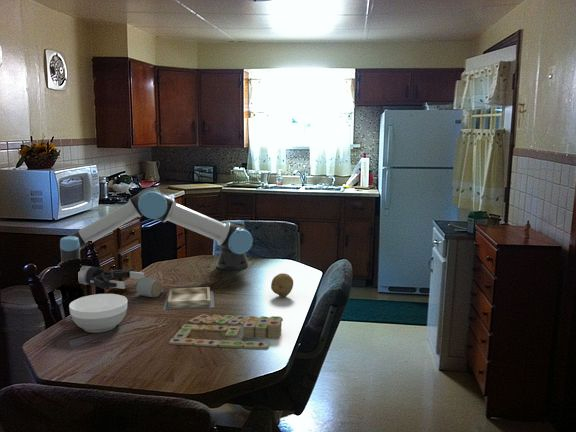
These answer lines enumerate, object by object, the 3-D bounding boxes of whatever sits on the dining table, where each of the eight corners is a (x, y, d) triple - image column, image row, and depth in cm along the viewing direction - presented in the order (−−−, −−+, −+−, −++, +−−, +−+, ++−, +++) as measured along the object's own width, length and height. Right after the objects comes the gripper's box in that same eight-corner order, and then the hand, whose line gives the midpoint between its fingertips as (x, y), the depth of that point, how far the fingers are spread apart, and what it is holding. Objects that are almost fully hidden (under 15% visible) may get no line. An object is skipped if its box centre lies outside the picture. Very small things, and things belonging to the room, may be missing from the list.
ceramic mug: (152, 300, 208) (152, 281, 207) (136, 297, 211) (135, 279, 210) (168, 293, 218) (168, 275, 216) (152, 290, 221) (152, 272, 220)
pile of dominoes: (285, 320, 190) (285, 305, 189) (276, 351, 163) (276, 334, 163) (191, 315, 193) (191, 301, 192) (168, 346, 167) (167, 329, 166)
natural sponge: (280, 302, 207) (280, 278, 205) (266, 296, 214) (266, 273, 212) (297, 297, 213) (297, 274, 211) (283, 292, 219) (283, 269, 218)
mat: (213, 291, 219) (213, 291, 219) (214, 308, 200) (214, 307, 200) (166, 293, 216) (166, 292, 216) (163, 310, 197) (163, 309, 197)
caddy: (209, 292, 217) (209, 287, 217) (210, 305, 202) (210, 299, 201) (170, 294, 214) (169, 288, 214) (167, 307, 199) (167, 301, 198)
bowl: (110, 339, 170) (109, 314, 168) (58, 334, 174) (56, 309, 172) (138, 319, 188) (137, 295, 187) (90, 314, 192) (89, 291, 190)
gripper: (109, 276, 233) (151, 280, 227) (70, 293, 209) (116, 298, 203) (108, 259, 232) (150, 264, 225) (69, 274, 208) (115, 280, 202)
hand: (134, 280), depth 214 cm, fingers open, 13 cm apart
